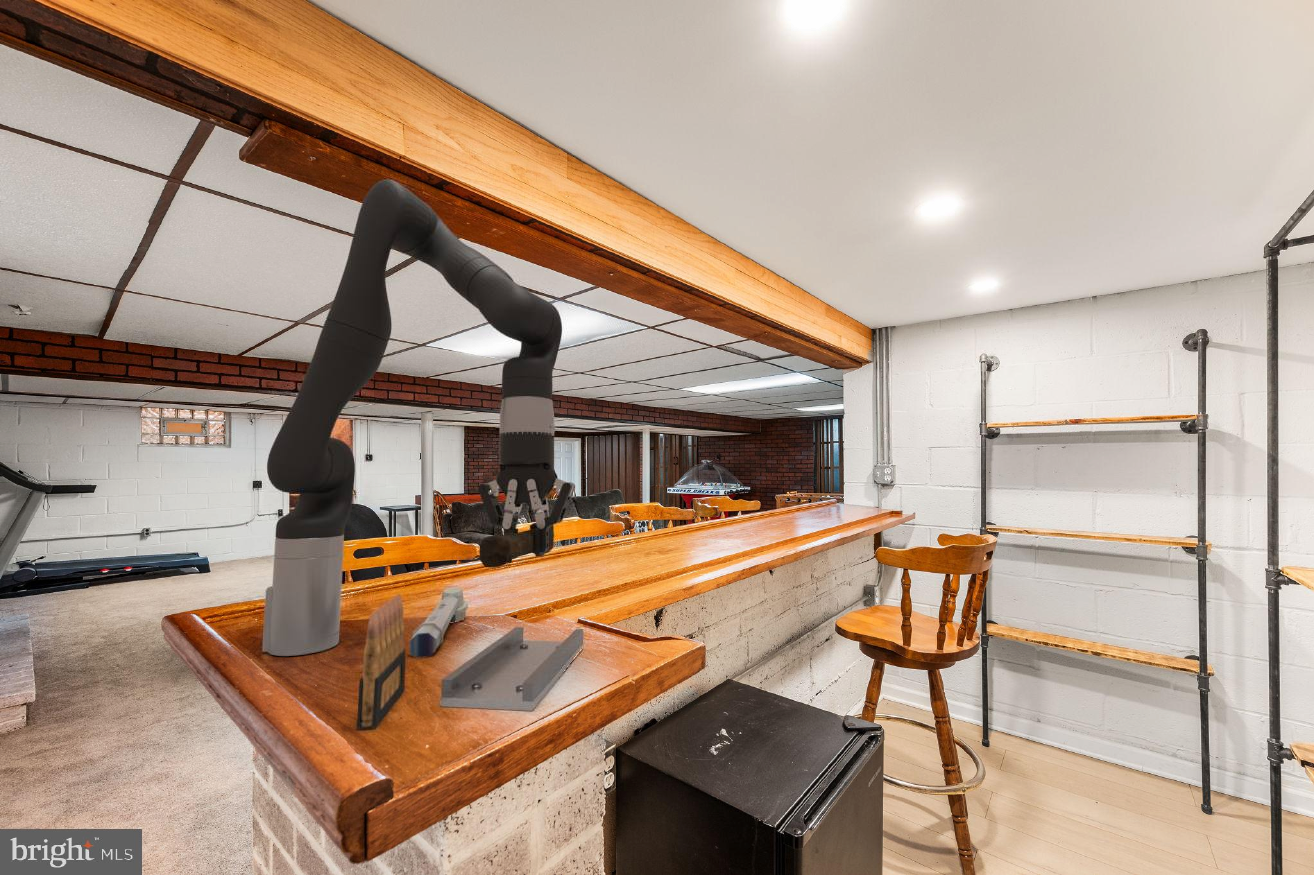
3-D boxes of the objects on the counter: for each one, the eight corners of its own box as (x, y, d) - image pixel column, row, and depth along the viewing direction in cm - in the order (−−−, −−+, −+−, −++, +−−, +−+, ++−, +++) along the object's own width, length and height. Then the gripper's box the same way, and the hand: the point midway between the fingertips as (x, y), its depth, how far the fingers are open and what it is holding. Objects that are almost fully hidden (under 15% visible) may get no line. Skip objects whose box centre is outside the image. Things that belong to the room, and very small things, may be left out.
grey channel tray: (440, 706, 62) (441, 679, 62) (515, 646, 85) (515, 627, 85) (532, 711, 61) (533, 683, 61) (583, 649, 83) (583, 629, 84)
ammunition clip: (388, 691, 66) (393, 592, 67) (404, 690, 67) (408, 592, 68) (356, 730, 56) (361, 612, 57) (375, 729, 56) (380, 612, 57)
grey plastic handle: (403, 633, 79) (441, 579, 103) (403, 677, 79) (441, 613, 104) (440, 631, 80) (470, 579, 104) (440, 675, 80) (469, 612, 105)
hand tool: (507, 568, 64) (507, 529, 65) (477, 567, 65) (478, 529, 66) (569, 550, 83) (569, 519, 83) (545, 549, 84) (545, 519, 84)
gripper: (467, 430, 73) (465, 559, 71) (568, 428, 71) (569, 559, 70) (490, 435, 80) (488, 552, 79) (582, 433, 79) (583, 552, 77)
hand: (526, 555), depth 74 cm, fingers closed on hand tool, 3 cm apart
